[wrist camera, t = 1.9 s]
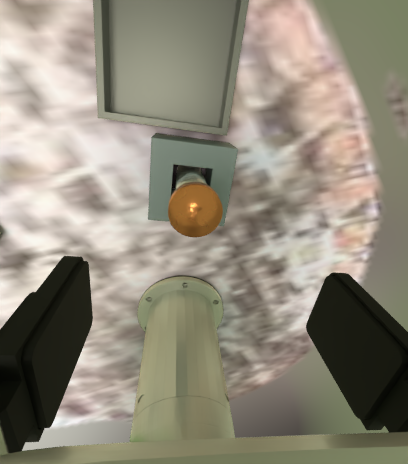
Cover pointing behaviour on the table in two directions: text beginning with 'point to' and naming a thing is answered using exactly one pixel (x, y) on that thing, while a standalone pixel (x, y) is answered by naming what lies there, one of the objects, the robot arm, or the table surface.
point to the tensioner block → (188, 154)
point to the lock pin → (194, 204)
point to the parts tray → (168, 61)
